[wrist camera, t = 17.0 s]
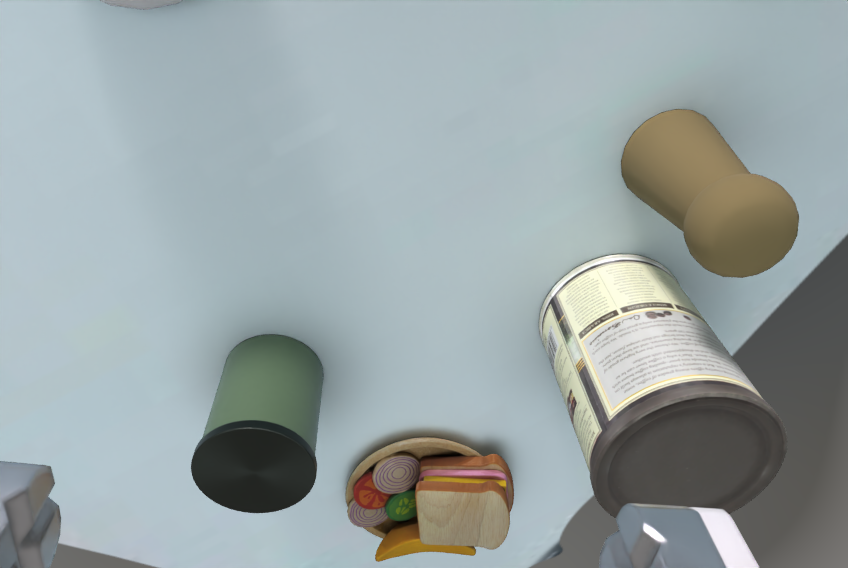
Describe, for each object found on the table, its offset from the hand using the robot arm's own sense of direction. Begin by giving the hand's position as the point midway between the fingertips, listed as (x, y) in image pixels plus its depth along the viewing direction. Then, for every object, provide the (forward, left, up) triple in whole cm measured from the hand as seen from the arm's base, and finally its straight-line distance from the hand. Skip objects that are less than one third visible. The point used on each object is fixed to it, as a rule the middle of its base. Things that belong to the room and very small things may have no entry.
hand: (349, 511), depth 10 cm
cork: (+4, +19, -31) cm, 37 cm away
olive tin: (+24, -4, -31) cm, 39 cm away
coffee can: (+16, +19, -31) cm, 40 cm away
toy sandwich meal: (+34, +9, -31) cm, 47 cm away
